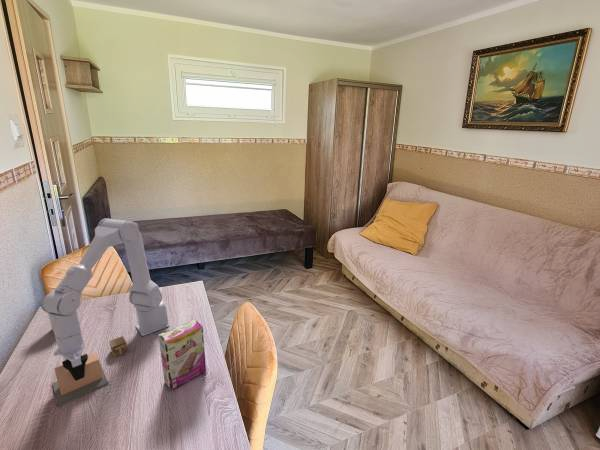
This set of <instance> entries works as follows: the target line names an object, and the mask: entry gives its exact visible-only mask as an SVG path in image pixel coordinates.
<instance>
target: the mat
mask: <svg viewBox="0 0 600 450" xmlns="http://www.w3.org/2000/svg"><path fill="white" fill-rule="evenodd" d="M100 367H101V371H102V376H103V378H101V379H99V380H96V381H94V382H92V383H89V384H87V385H85V386H83V387H80V388H78V389H76V390H73V391H71V392H69V393H66V394H64V395H62V396H61V392H60V389H59V385H58V381H57V380H56V381H54V382H52V386H53V391H54V397H55V401H56V407H60V406H62V405H64V404H66V403H68V402H71V401H73V400H75V399H78V398H80V397H82V396H84V395H86V394H89V393H92V392H93V391H95V390H98V389H101V388H102V387H105V386H107V385H109V381H108V378H107V377H106V374H105V371H104V369H103V367H102V364H101V363H100Z"/></svg>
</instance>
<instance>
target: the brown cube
mask: <svg viewBox="0 0 600 450" xmlns="http://www.w3.org/2000/svg"><path fill="white" fill-rule="evenodd" d="M127 346H128V345H127V341H126V340H125V337H124V336H123V335H122V336H120V337H117V338H113V339H110V340H109V347H110V351H111V354H112V356H113V358H117V357H118V356H122V355H124V354H126V353H128V352H129V351H128V347H127Z"/></svg>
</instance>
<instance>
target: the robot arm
mask: <svg viewBox="0 0 600 450" xmlns="http://www.w3.org/2000/svg"><path fill="white" fill-rule="evenodd" d="M122 244H124V247H125V252H126V258H127V261H128V266H129V269H130V270H129V271H130V275H131V279H132V284H131V286H130V287H128V289H129V290H128V291H129V296H128V301H129V303H130V304H131V305H133V308H135V311H136V317H137V323H138V324H136V325H135V328H136V329H137V331H138V332H139V334H140V335H141V336H142V337H145V336H147V335H149V334H153V333H155V332H158V331H160V330H162V329H165V328H167V327H169V326H170V324H169V320H168V311H167V307H166V304H165V303H164V300H163V293H162V291H161V290H160V287H159V285H158V284H157V283H155V282H154V281H153V280H152V279H151V277H150V276H151V275H150V271H149V265H148V262H147V261H148V260H147V256H146V251H145V246H144V240H143V235H142V232H141V231H140V230H139V223H137V222H135V221H132V220H123V219H114V218H108V217H105V218H103V219H101V220H100V221H99V222H98V224H97V226H96V227H95V228H94V237H93V239H92V240H91V242H90V244H89V246H88V247H87V249H86V251H85V253H84V255H83V256H82V258H81V259H80V262H78V264H74V265H72V266H71V267H70V268H68V269H67V271H66V272H65V275H64V277H63V278H62V280H61V281H60V282H59V284H58V285H57V286H56V288H55V289H54V290H53V291H51V292H49V293H48V294H47V295H46V296H45V297H44V298H43V301H42V305H41V307H40V308H41V310H42V311H43V312H45V313H47V314H48V317H49V320H50V319H51V322H52V326H53V330H54V333H53V334H54V338H55V341H56V345H57V348H55V349H54V350H53V355H54V357H55V356H56V357H57V356H59V355H60V356H61V357H63V358H64V359H65V360H62V361H61V363H62V365H63V367H64V368H65V369H67V370H68V371H69V372H70V373H71V375H72V376H73V378H74V379H75V381H77V380H79V379H81V378H84V375H85V364H86V361H87V360H88V355H89V354H88V353H84V354H83V352H84V348H85V346H86V342H85V340H84V338H83V334H82V329H81V326H80V325H81V324H80V321H79V316H78V311H77V310H78V308H80V304H81V298H82V296H83V291H84V289H85V288H86V287H87V286H88V284H89V282H90V280H91V279H92V278H93V272H92V269H93V268H95V266H96V264H97V263H98V262H99V260H100V259H101V257H102V256H103V255H104V254H105V252H106V251H107V249H108V248H110V247H114V246H118V245H122ZM51 322H50V323H51ZM52 326H51V327H52ZM53 330H52V331H53Z"/></svg>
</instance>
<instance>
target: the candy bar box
mask: <svg viewBox="0 0 600 450" xmlns="http://www.w3.org/2000/svg"><path fill="white" fill-rule="evenodd" d="M203 327H204V326H203V325H202V324H201V323H199V322H198V321H197V320H196V319H193V320H191V321H188V322H186V323H184V324H182V325H181V324H180V325H179V326H177V327H173V328H171V329H169V330H166V331H164V332H162V333H159V334H158V341H159V348H160V349H159V351H160V355H161V356H160V357H161V365H162V367H161V368H162V373H163V380H164V383H165V384H166V386H167V387H168V388H169V390H170V392H171V391H174V390H175V389H177V388H179V387H180V386H183V385H184V384H185V383H188V382H190V381H191V380H193V379H195V378H197V377H198V376H200V375H202V374H204V373H206V372H207V368H206V367H207V365H206V355H205V354H206V353H205V341H204V340H205V339H204V328H203Z"/></svg>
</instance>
